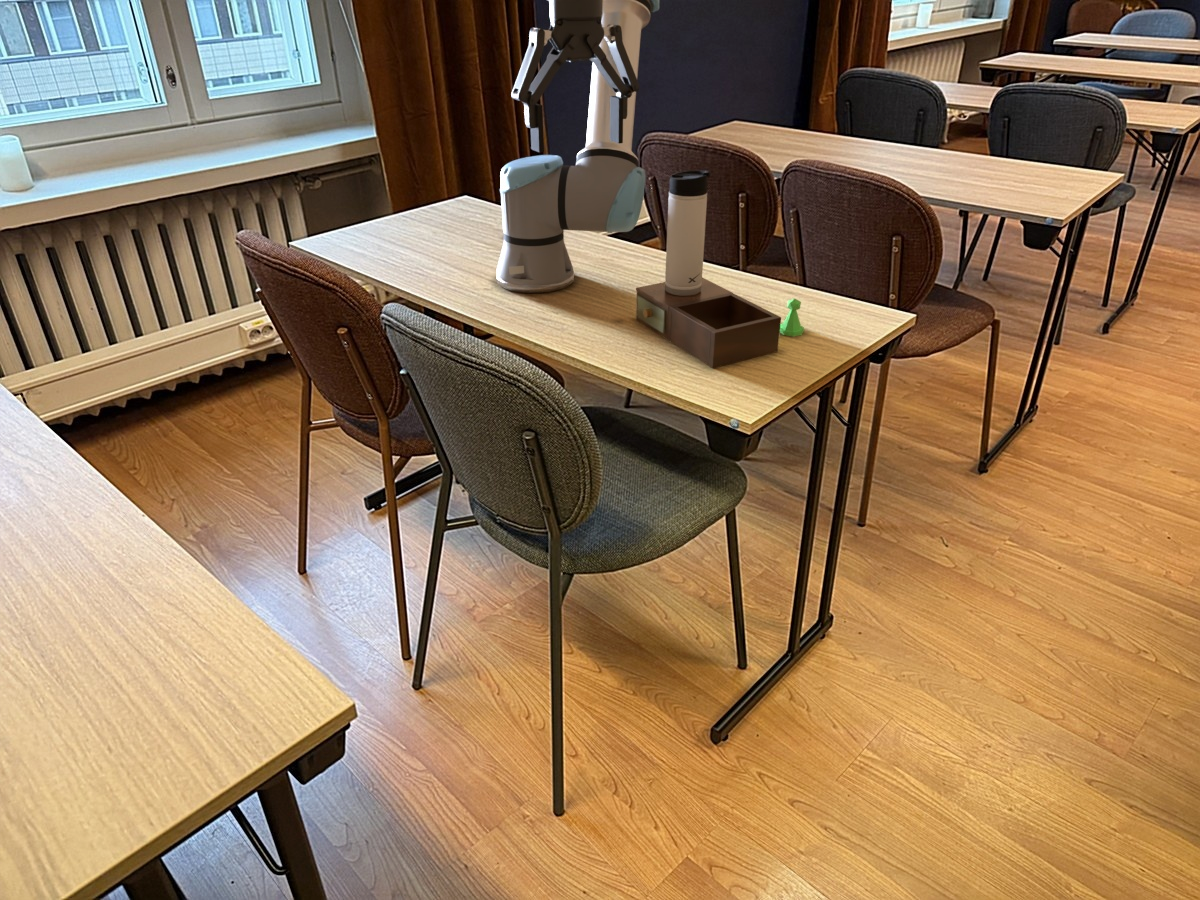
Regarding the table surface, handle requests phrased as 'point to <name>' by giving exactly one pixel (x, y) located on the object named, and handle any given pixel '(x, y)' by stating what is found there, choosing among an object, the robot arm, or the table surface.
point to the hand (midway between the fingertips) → (577, 146)
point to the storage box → (709, 323)
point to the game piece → (792, 320)
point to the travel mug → (686, 232)
